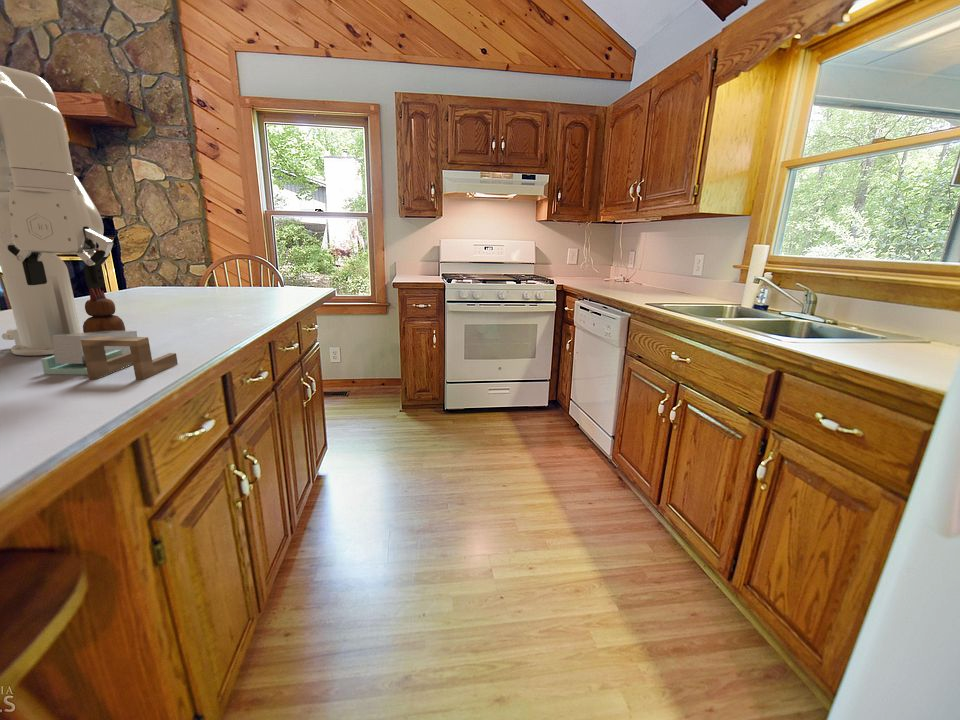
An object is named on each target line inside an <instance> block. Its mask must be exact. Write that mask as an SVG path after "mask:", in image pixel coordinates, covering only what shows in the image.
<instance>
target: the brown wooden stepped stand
mask: <svg viewBox="0 0 960 720" xmlns="http://www.w3.org/2000/svg"><path fill="white" fill-rule="evenodd" d="M81 345H82V349H83V354H84V358H85V363H86V368H87V372H88V374H87V377H88V379H89V380H98V379H100V378H102V377H101V376H103V377H104V375H106V374H108V375H110V374H109V373H111V372H113V371H116V370H118V369H121V368H123V367H126V366H128V365H131V364H133V365H131V366H132V367H133V371H134V376H135V380H146V379H147V377H148V378H150V377H152V376H154V375H156V374H159V373H160V372H163V371H166V370H168V369H170V368H172V367H174V366H177V365H178V364H179V363H178V357H177V353H176V352H173V353H172V352H170V353H166V354H163V355H162V356H159V357H156V358H154V359H153V357H152V351H151V346H150V340H149V337H148V336H137V337H110V336H93V337H90V338H86V339H82V340H81ZM104 346H130V350H131V353H125V354H122V355H119V356H116V357H113V358H111V359H108V360H107V359H106V354H105V349H104ZM126 368H127V367H126ZM123 369H124V368H123ZM121 370H122V369H121ZM118 371H119V370H118ZM116 372H117V371H116ZM113 373H114V372H113ZM111 374H112V373H111ZM106 376H107V375H106ZM99 377H100V378H99ZM97 378H98V379H97ZM145 378H146V379H145Z"/></svg>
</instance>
